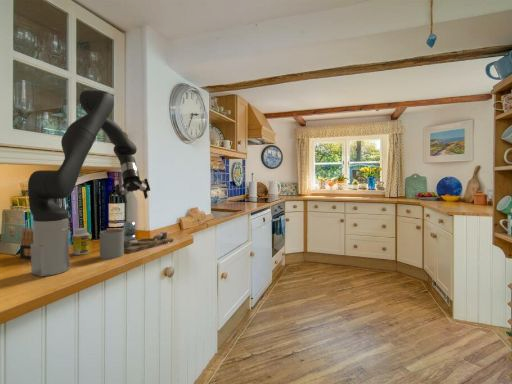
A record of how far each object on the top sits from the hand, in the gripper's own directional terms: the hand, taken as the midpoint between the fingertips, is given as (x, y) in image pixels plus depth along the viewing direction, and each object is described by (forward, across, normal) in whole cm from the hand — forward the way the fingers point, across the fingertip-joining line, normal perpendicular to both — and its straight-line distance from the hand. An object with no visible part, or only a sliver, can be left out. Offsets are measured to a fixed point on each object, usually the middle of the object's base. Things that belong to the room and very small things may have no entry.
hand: (135, 200), depth 123 cm
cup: (+24, -13, 0) cm, 27 cm away
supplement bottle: (+17, -25, +5) cm, 30 cm away
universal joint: (+12, -8, +17) cm, 22 cm away
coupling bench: (+18, -1, +12) cm, 21 cm away
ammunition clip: (+15, -39, +1) cm, 42 cm away
